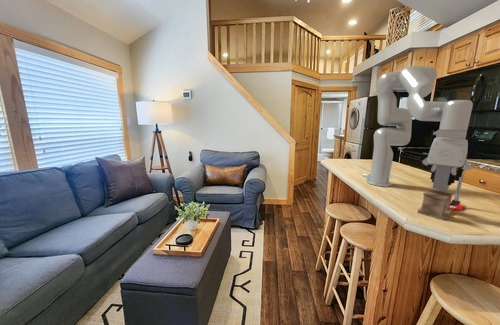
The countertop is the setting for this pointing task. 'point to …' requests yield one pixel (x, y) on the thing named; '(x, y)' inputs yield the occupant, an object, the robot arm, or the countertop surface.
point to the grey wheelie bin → (442, 177)
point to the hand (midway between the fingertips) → (441, 182)
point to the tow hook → (457, 198)
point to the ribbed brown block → (436, 203)
